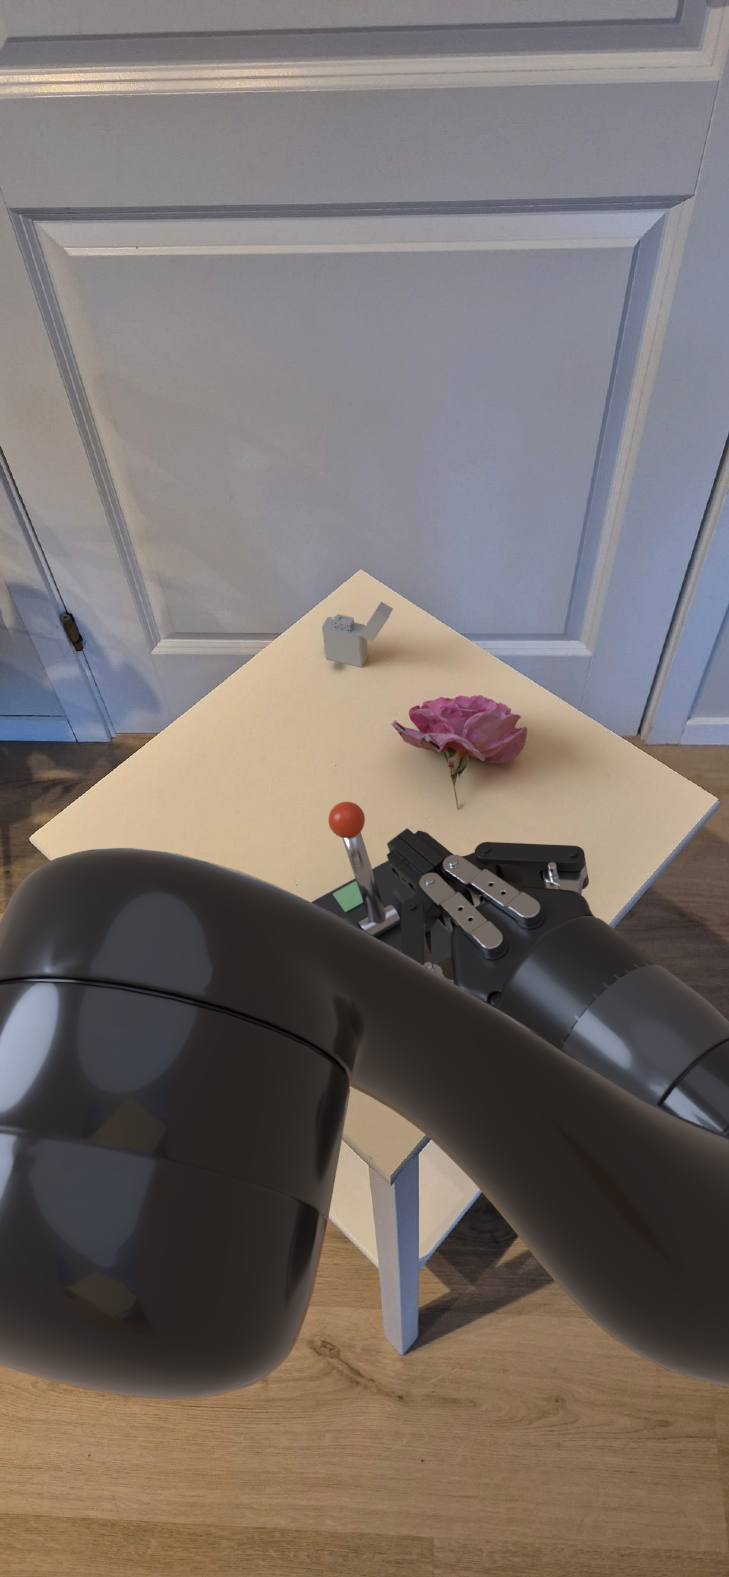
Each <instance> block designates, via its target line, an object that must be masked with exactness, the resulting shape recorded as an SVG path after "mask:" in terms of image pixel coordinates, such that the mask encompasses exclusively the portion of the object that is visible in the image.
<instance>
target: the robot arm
mask: <svg viewBox="0 0 729 1577" xmlns="http://www.w3.org/2000/svg"><path fill="white" fill-rule="evenodd" d="M386 845H387V849H388V853H387V854H386V857H387V861H388V860H389V863H390V866H391V868H392V871H393V874H394V876H395V877H396V878H397V879H398V880H399V881H401V883H402V884H403V885H405V886H406V887H407V888H408V889H409V890H410V891H411V892H412V893H414V894H415V896H414V898H411V899H408V900H406V901H405V902H404V903H403V904H402V907H401V952H400V951H398V950H397V949H395V948H393V947H392V946H390V945H388V944H386V943H385V942H383V941H381V940H380V939H378V938H376V937H375V936H373V935H371V934H369V933H368V932H366V931H364V930H363V929H361V928H359V927H357V926H355V925H354V924H352V923H350V922H348V921H346V920H344V919H342V918H341V917H339V916H337V915H335V914H333V913H331V912H329V911H327V910H325V909H323V908H321V907H319V906H317V905H315V904H313V903H311V902H312V901H310V900H307V899H305V898H303V897H301V896H299V895H298V894H294V892H293V893H292V892H290V891H288V890H286V889H284V888H282V887H280V886H278V885H275V884H274V883H271V882H269V881H266V880H263V879H261V878H258V877H256V876H254V875H252V874H248V873H246V872H244V871H240V870H238V869H234V868H231V867H228V866H225V865H221V864H217V863H214V862H211V861H207V860H203V859H199V858H196V857H192V856H188V855H184V854H181V853H177V852H176V853H175V852H168V851H162V850H161V851H159V850H151V849H145V848H144V849H143V848H136V847H135V848H134V847H111V848H95V849H94V848H93V849H87V850H81V851H77V852H73V853H70V854H66V855H62V856H59V857H56V858H54V859H51V860H50V861H48V862H45V863H43V864H42V865H41V866H39V867H38V868H36V869H34V870H33V871H32V872H31V873H29V874H28V875H27V876H26V877H25V878H24V879H23V880H21V882H20V884H19V885H18V886H17V888H16V890H15V891H14V893H13V895H12V896H11V897H10V899H9V901H8V903H7V906H6V908H5V910H4V912H3V914H2V917H1V919H0V1367H1V1366H2V1367H3V1368H4V1367H5V1368H7V1369H11V1370H13V1371H16V1372H20V1373H23V1374H26V1375H29V1376H32V1377H35V1378H39V1379H42V1380H44V1381H48V1382H51V1383H57V1384H61V1385H65V1386H70V1387H75V1388H80V1389H85V1390H90V1391H95V1392H99V1393H104V1394H108V1395H113V1396H121V1397H131V1398H143V1399H144V1398H145V1399H154V1400H155V1399H156V1400H185V1399H187V1400H188V1399H199V1398H200V1399H201V1398H212V1397H213V1398H214V1397H218V1396H219V1397H220V1396H222V1395H226V1394H229V1393H232V1392H235V1391H239V1390H242V1389H244V1388H249V1387H251V1386H253V1385H255V1384H257V1383H259V1382H260V1381H262V1380H264V1379H265V1378H267V1377H268V1376H270V1375H271V1374H272V1373H273V1372H274V1371H276V1370H277V1369H279V1367H281V1366H282V1365H283V1364H284V1362H285V1361H286V1360H287V1359H288V1357H289V1356H290V1355H291V1353H292V1351H293V1350H294V1348H295V1346H296V1345H297V1342H298V1339H299V1337H300V1335H301V1334H300V1333H301V1331H302V1329H303V1326H304V1323H305V1320H306V1318H307V1315H308V1311H309V1308H310V1304H311V1302H312V1299H313V1298H312V1297H313V1294H314V1290H315V1286H316V1282H317V1281H316V1280H317V1276H318V1271H319V1266H320V1260H321V1256H322V1251H323V1248H324V1242H325V1237H326V1232H327V1227H328V1219H329V1216H330V1211H331V1205H332V1200H333V1194H334V1187H335V1182H336V1176H337V1171H338V1165H339V1159H340V1153H341V1147H342V1141H343V1135H344V1129H345V1124H346V1118H347V1112H348V1106H349V1100H350V1095H351V1088H352V1089H354V1090H356V1091H358V1092H360V1093H362V1094H364V1095H366V1096H368V1097H370V1098H372V1099H374V1100H375V1101H377V1102H379V1103H380V1104H382V1105H383V1106H385V1107H387V1108H389V1109H391V1111H393V1112H395V1113H396V1114H398V1115H399V1116H401V1117H402V1118H403V1119H405V1120H406V1121H408V1122H409V1123H410V1124H412V1125H413V1126H414V1127H416V1128H417V1129H418V1130H419V1131H420V1132H422V1133H423V1134H424V1135H425V1136H427V1138H429V1140H431V1141H432V1142H433V1143H434V1144H435V1145H436V1146H437V1147H438V1148H439V1149H440V1150H441V1151H442V1152H443V1153H444V1154H446V1155H447V1156H448V1157H449V1159H450V1160H452V1162H454V1163H455V1164H456V1165H457V1167H458V1168H460V1169H461V1171H463V1173H464V1174H465V1175H466V1176H467V1177H468V1178H469V1179H470V1180H471V1181H472V1182H473V1183H474V1184H475V1186H476V1187H477V1188H478V1189H479V1190H480V1191H481V1192H482V1194H483V1195H484V1196H485V1197H486V1198H487V1200H488V1201H489V1202H490V1203H491V1204H492V1205H493V1207H494V1208H495V1209H496V1211H498V1212H499V1214H500V1215H501V1216H502V1217H503V1219H504V1220H505V1221H506V1222H507V1223H508V1225H509V1226H510V1227H511V1228H512V1230H513V1231H514V1232H515V1234H516V1235H517V1236H518V1238H520V1241H522V1243H523V1244H524V1245H525V1246H526V1248H527V1249H528V1251H529V1252H530V1253H531V1254H532V1255H533V1257H534V1258H535V1259H536V1260H537V1262H538V1263H539V1265H541V1266H542V1268H544V1270H545V1271H546V1272H547V1273H548V1275H549V1276H550V1277H551V1278H552V1280H554V1282H555V1283H556V1284H557V1285H558V1286H559V1288H560V1289H561V1290H562V1291H563V1293H565V1295H567V1297H569V1298H570V1300H571V1301H572V1302H573V1303H574V1304H575V1305H577V1307H578V1308H579V1309H580V1310H581V1311H582V1312H583V1313H584V1314H585V1315H586V1316H587V1317H589V1319H590V1320H592V1322H593V1323H594V1324H596V1325H597V1326H598V1327H599V1328H601V1330H602V1331H604V1332H605V1333H606V1334H607V1335H609V1336H610V1337H611V1338H612V1339H614V1340H615V1341H616V1342H618V1343H619V1344H621V1345H623V1346H624V1347H625V1348H627V1349H628V1350H629V1351H631V1352H632V1353H635V1354H637V1355H638V1356H640V1357H641V1358H643V1359H645V1360H646V1361H649V1362H650V1363H652V1364H655V1365H656V1366H658V1367H660V1368H662V1369H664V1370H666V1371H669V1372H672V1373H675V1374H678V1375H681V1376H683V1377H687V1378H690V1379H693V1380H697V1381H701V1382H704V1383H708V1384H712V1385H716V1386H721V1387H725V1388H729V1020H728V1019H727V1018H726V1017H725V1016H724V1015H723V1014H722V1013H721V1012H720V1011H719V1010H718V1008H716V1007H715V1006H714V1005H713V1004H712V1003H711V1002H709V1001H708V1000H707V999H706V998H705V997H704V996H702V995H701V994H700V993H699V992H697V991H696V990H695V989H693V988H692V987H690V986H689V985H688V984H687V983H685V982H684V981H682V980H681V979H680V978H679V977H677V976H676V975H675V974H674V973H672V972H671V971H670V970H668V969H667V968H666V967H665V966H663V965H662V964H660V963H659V961H656V959H654V958H653V957H652V956H650V955H649V954H647V953H646V952H644V951H643V950H642V949H641V948H639V947H638V946H637V945H635V944H634V943H633V942H632V941H631V940H629V939H628V938H627V937H625V936H624V935H622V934H621V932H619V931H618V930H616V929H615V928H613V927H612V926H611V925H610V924H608V923H607V922H606V921H604V920H603V919H601V918H599V917H596V916H595V914H594V913H593V912H592V910H591V907H590V905H589V902H588V900H587V898H586V897H585V896H584V895H582V893H583V890H585V889H587V887H588V886H589V883H590V880H589V873H588V872H589V871H588V867H587V860H586V855H585V854H586V853H585V850H584V849H583V848H582V847H580V846H578V845H571V844H570V845H569V844H568V845H567V844H547V843H546V844H545V843H544V844H543V843H526V842H525V843H524V842H523V843H521V842H503V841H502V842H498V841H497V842H496V841H483V842H480V843H479V844H477V845H476V847H475V849H474V852H471V853H469V854H466V855H459V854H454V853H453V852H451V851H450V850H449V849H447V848H446V847H445V846H444V845H442V844H441V843H440V842H439V841H438V840H437V839H435V838H434V837H433V836H431V834H429V833H428V832H427V831H423V830H420V829H419V830H417V831H416V832H413V831H412V830H410V829H409V828H405V829H404V830H402V831H401V832H400V833H398V834H397V835H395V837H393V838H392V839H391V840H389V841H388V842H387V843H386ZM436 921H438V922H439V923H440V924H441V926H442V927H443V928H444V929H445V930H446V931H447V932H448V934H449V936H450V946H451V958H452V971H453V980H451V979H448V978H446V977H445V976H444V974H443V971H442V969H441V967H440V966H439V965H437V964H434V963H433V939H432V927H433V926H434V924H435V923H436Z"/></svg>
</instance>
